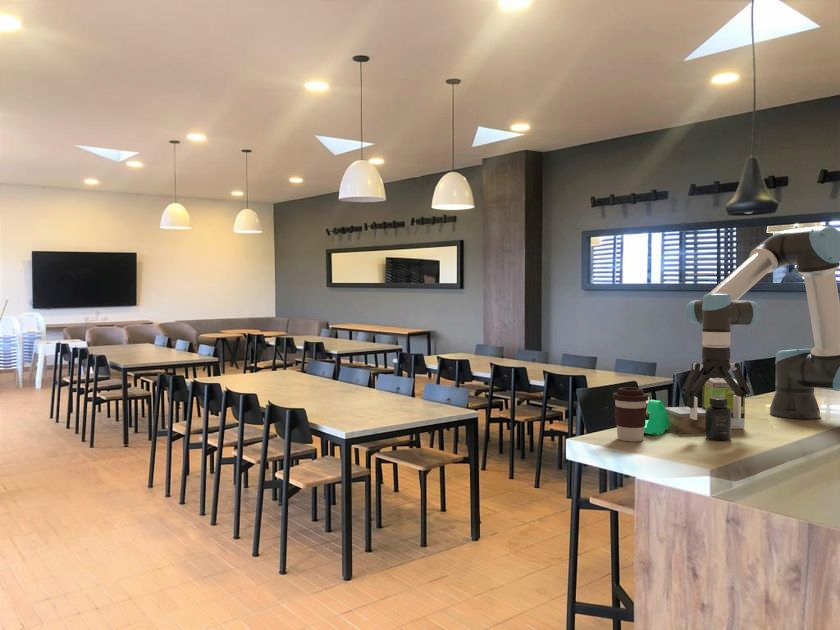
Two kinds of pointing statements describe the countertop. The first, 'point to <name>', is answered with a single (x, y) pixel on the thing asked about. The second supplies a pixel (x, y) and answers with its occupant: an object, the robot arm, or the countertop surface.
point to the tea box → (722, 389)
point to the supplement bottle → (718, 420)
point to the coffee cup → (630, 413)
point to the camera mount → (656, 418)
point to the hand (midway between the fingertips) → (715, 418)
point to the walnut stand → (686, 420)
